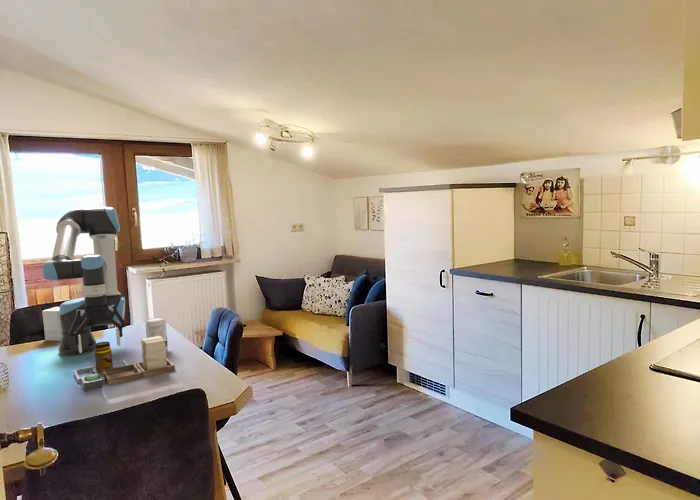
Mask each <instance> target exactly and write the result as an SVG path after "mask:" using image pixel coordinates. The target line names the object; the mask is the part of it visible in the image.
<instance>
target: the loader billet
mask: <svg viewBox="0 0 700 500" xmlns="http://www.w3.org/2000/svg"><path fill="white" fill-rule="evenodd" d="M140 341H141V343H140V344H141V351H142V352H141V353H142V362H143V367H144V369H145V371H148V370H152V369H157V368H162V367H166V366H167V359H168V358H167V352H166V346H165V340H164V339H163V338H162V337H161V336H154V337H149V338H147V337H144V338H141V339H140ZM166 358H167V359H166Z"/></svg>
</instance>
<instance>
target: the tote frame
mask: <svg viewBox="0 0 700 500" xmlns="http://www.w3.org/2000/svg"><path fill="white" fill-rule="evenodd" d="M118 363H123V365H124V366H125V365H129V364H128V363H127V361H126V360H125V359H122V360H118V361H113V365H114V364H118ZM94 368H96V365H92V366H87V367H82V368H78V369H73V375H74V377H75V380H76V382H77V383H78V384H80V383H81V377H80V375H79V374H82V373H87V372H92V371H94ZM102 375H103V373H102Z"/></svg>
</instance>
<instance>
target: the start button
mask: <svg viewBox="0 0 700 500" xmlns="http://www.w3.org/2000/svg"><path fill="white" fill-rule="evenodd" d="M86 376H87V377H86V378H87V381H92V380H96V379H99V375H98V373H95V374H91V375H90V374H88V375H86Z"/></svg>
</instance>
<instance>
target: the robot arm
mask: <svg viewBox="0 0 700 500" xmlns="http://www.w3.org/2000/svg"><path fill="white" fill-rule="evenodd" d="M55 230H56V234H57V235H56V239H55V244H54V248H53V250H52V251H53V252H52V256H51V259H50V260H48V261H44V262H43V264H42V275H43V278H44V279H45V281H60V280H61V281H62V280H69V279H70V280H72V279H82V281H83V282H82V283H83V286H82V287H83V295H84V297H79V298H73V299H70V300H66V301H64V302H62V303H61V304H60V305H59V307H60V314H59V315H60V321H61V330H62V338H61V341H59V342H60V344H59V346H58V353H59V355H61V356H77V355H82V354H87V353H90V352H93V351H95V344H96V343H97V341H96V338H95V337H94V335H93V333H92V329H91V327H96V326H105V325H114V326H115V327H116V329H115V333H116V334H115V335H116V344H117V346H118V347H120V346H122V345H121V338H122V337H123V336H124V335H123V329H124V328H127V327H128V325H127V323H126V322H125V312H126V298H125V297H123V296H122V293H121V292H120V291H119V289H118V279H117V268H116V267H117V266H116V252H115V251H116V250H115V238H116V237H118V232H120V231H121V228H120V221H119V217H118V214H117V209H115V208H114V207H112V206H98V207H77V208H75V209H72V210H70V211H68V212H66V213H65V214H64V215H62V216H61V218H60V219H59V220H58V222H57V223H56V227H55ZM81 234H88V235H89V238H90V239H91V240H92V242H93V253H94V254H91V255H90V254H89V255H84V256H82V257H81V258H80V259H79V258H78V259H74V257H75V251H76V246H77V239H78V237H79V236H80V235H81Z"/></svg>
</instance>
